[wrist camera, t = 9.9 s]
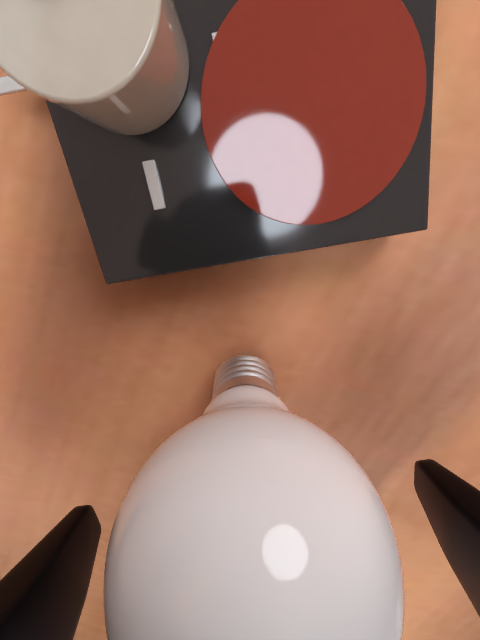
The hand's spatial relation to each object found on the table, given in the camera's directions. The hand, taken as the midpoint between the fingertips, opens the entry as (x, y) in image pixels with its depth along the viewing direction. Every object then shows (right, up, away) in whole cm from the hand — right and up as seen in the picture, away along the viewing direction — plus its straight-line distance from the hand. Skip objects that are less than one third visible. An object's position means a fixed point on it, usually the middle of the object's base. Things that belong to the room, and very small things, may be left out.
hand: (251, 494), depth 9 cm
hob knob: (-3, +12, 0) cm, 12 cm away
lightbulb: (0, +2, +6) cm, 7 cm away
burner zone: (+2, +11, 0) cm, 11 cm away
